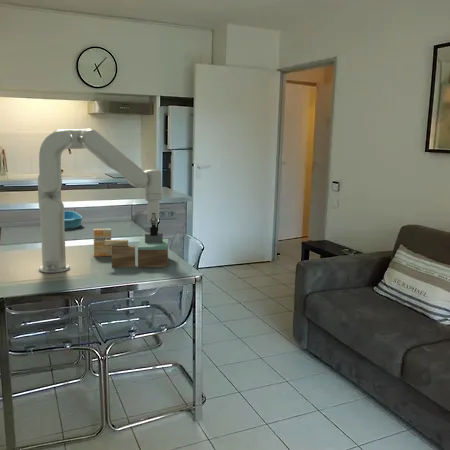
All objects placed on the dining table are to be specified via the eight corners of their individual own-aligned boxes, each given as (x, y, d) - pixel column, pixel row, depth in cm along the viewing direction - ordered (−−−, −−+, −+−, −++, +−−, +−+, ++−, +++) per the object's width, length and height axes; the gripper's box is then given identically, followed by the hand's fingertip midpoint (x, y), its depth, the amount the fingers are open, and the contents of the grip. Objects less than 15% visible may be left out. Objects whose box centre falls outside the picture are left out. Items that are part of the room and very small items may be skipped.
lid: (167, 249, 216) (167, 238, 215) (137, 249, 215) (137, 238, 214) (168, 241, 234) (168, 230, 233) (140, 241, 233) (140, 230, 232)
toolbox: (167, 267, 218) (167, 247, 216) (111, 267, 215) (111, 247, 213) (167, 257, 235) (167, 238, 234) (116, 257, 233) (115, 238, 231)
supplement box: (94, 257, 233) (93, 230, 231) (93, 254, 238) (93, 228, 236) (111, 256, 236) (111, 229, 233) (111, 253, 240) (110, 227, 238)
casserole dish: (86, 229, 304) (85, 217, 302) (48, 231, 293) (48, 220, 292) (74, 220, 335) (73, 209, 334) (39, 222, 325) (39, 211, 324)
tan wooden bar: (127, 246, 215) (127, 240, 214) (104, 246, 214) (104, 240, 213) (128, 245, 217) (128, 239, 217) (105, 245, 216) (105, 239, 216)
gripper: (146, 194, 231) (147, 230, 234) (144, 199, 214) (145, 237, 217) (162, 194, 231) (162, 229, 234) (161, 199, 214) (162, 237, 218)
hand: (154, 233), depth 226 cm, fingers open, 9 cm apart
